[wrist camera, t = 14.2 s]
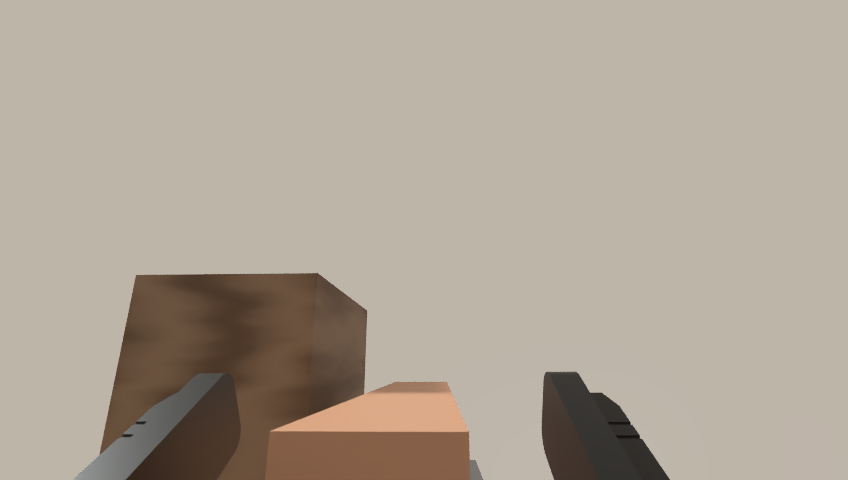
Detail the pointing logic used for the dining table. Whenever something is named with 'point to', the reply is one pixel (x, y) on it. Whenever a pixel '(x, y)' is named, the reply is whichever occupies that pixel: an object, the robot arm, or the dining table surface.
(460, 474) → the bar
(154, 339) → the stand
